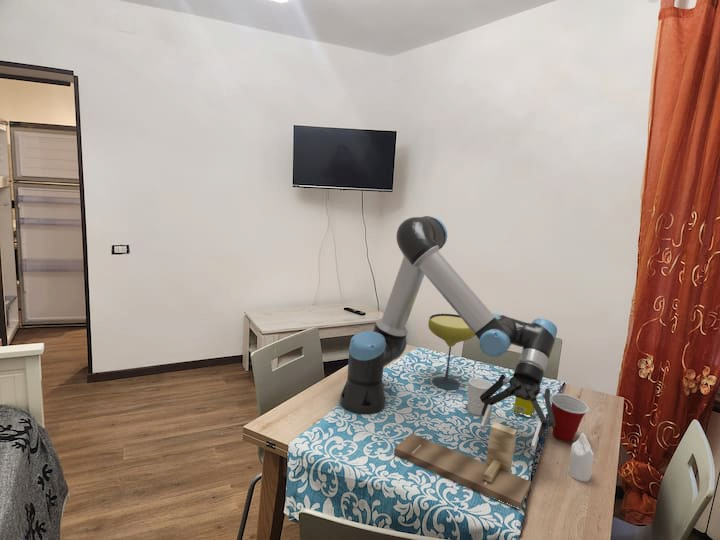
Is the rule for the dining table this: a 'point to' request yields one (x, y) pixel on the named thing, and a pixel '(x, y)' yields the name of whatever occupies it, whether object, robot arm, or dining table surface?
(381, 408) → the robot arm
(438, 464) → the walnut board
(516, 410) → the supplement box
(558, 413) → the plastic cup
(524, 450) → the dining table surface
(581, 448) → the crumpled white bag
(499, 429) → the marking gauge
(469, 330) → the cocktail glass
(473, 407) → the white cup
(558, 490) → the dining table surface
